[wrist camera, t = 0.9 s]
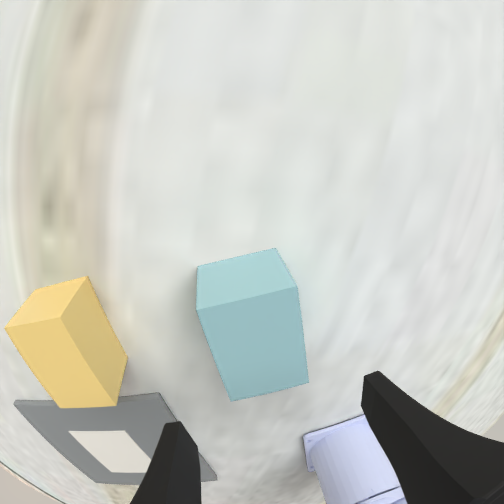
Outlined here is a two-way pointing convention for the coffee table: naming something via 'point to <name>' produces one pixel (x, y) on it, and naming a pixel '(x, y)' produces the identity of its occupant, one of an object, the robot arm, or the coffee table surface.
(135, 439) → the baseplate
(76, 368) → the ochre brick
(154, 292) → the coffee table surface
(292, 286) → the teal brick
